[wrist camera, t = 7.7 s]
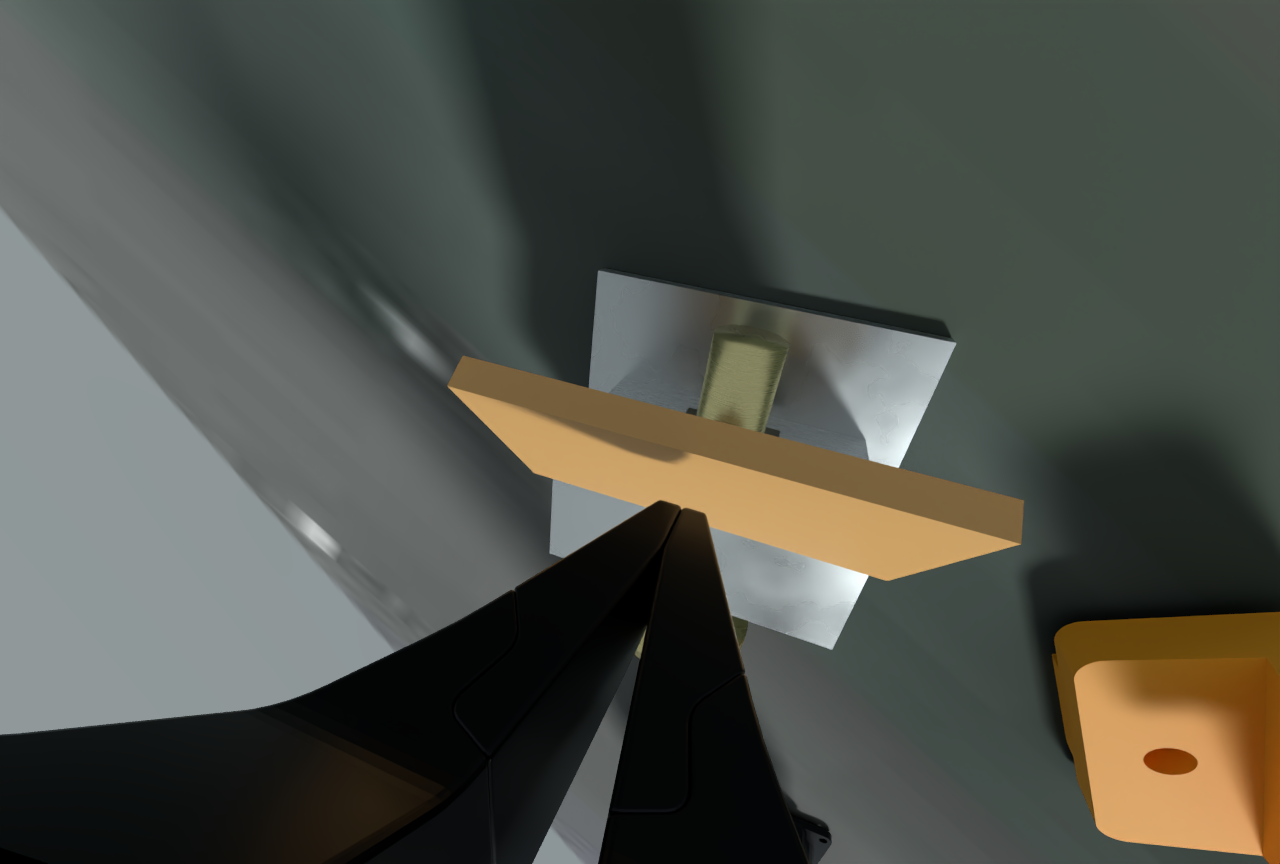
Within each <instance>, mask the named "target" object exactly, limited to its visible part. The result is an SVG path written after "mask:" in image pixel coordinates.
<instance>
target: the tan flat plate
mask: <svg viewBox="0 0 1280 864" xmlns="http://www.w3.org/2000/svg"><path fill="white" fill-rule="evenodd" d="M447 386H448V387H449V388H450V389H451V390H452V391H453V392H454V393H455V394H456V395H457V396H458V397H459V398H460V399H461V400H462V401H463V402H464V403H465V404H466V405H467V406H468V407H469V408H470V409H471V410H472V411H473V412H474V413H475V414H476V415H477V416H478V417H479V418H480V419H481V420H482V421H483V422H484V423H485V424H486V425H487V426H488V427H489V428H490V429H491V430H492V431H493V432H494V433H495V434H496V435H497V436H498V437H499V438H500V439H501V440H502V441H503V442H504V443H505V444H506V445H507V446H508V447H509V448H510V449H511V450H512V451H513V452H514V453H515V454H516V455H517V456H518V457H519V458H520V459H521V460H522V461H523V462H524V463H525V464H526V465H527V466H528V467H529V468H530V469H531V470H532V471H533V472H534V473H535V474H539V475H542V476H545V477H548V478H552V479H555V480H558V481H562V482H565V483H568V484H571V485H575V486H578V487H581V488H584V489H588V490H591V491H594V492H598V493H601V494H604V495H607V496H611V497H614V498H617V499H620V500H624V501H627V502H630V503H634V504H637V505H640V506H643V507H648V506H650V505H651V504H653V503H655V502H656V501H659V500H663V501H667V502H670V503H673V504H677V505H679V506H680V507H681V509H683V508H690V509H693V510H697V511H700V512H703V513H705V514H706V516H707V519H708V524H709V527H712V528H715V529H719V530H722V531H725V532H729V533H732V534H735V535H738V536H742V537H745V538H748V539H751V540H755V541H758V542H761V543H765V544H768V545H771V546H774V547H778V548H781V549H784V550H787V551H791V552H794V553H797V554H801V555H804V556H807V557H810V558H814V559H817V560H820V561H823V562H827V563H830V564H833V565H837V566H840V567H843V568H846V569H850V570H853V571H856V572H859V573H863V574H866V575H869V576H873V577H876V578H879V579H882V580H886V581H889V580H893V579H896V578H900V577H904V576H907V575H911V574H914V573H918V572H922V571H925V570H929V569H933V568H936V567H940V566H944V565H947V564H951V563H954V562H958V561H962V560H965V559H969V558H973V557H976V556H980V555H983V554H987V553H991V552H994V551H998V550H1002V549H1005V548H1009V547H1013V546H1016V545H1020V544H1021V540H1022V524H1023V508H1024V500H1020V499H1017V498H1013V497H1009V496H1005V495H1001V494H997V493H993V492H989V491H986V490H982V489H978V488H974V487H970V486H966V485H962V484H958V483H955V482H951V481H947V480H943V479H939V478H935V477H931V476H928V475H924V474H920V473H916V472H912V471H908V470H904V469H900V468H897V467H893V466H889V465H885V464H881V463H877V462H873V461H869V460H866V459H862V458H858V457H854V456H850V455H846V454H842V453H838V452H835V451H831V450H827V449H823V448H819V447H815V446H811V445H807V444H804V443H800V442H796V441H792V440H788V439H784V438H780V437H776V436H773V435H769V434H765V433H761V432H757V431H753V430H749V429H746V428H742V427H738V426H734V425H730V424H726V423H722V422H718V421H715V420H711V419H707V418H703V417H699V416H695V415H691V414H687V413H684V412H680V411H676V410H672V409H668V408H664V407H660V406H656V405H653V404H649V403H645V402H641V401H637V400H633V399H629V398H625V397H622V396H618V395H614V394H610V393H606V392H602V391H598V390H595V389H591V388H587V387H583V386H579V385H575V384H571V383H567V382H564V381H560V380H556V379H552V378H548V377H544V376H540V375H536V374H533V373H529V372H525V371H521V370H517V369H513V368H509V367H505V366H502V365H498V364H494V363H490V362H486V361H482V360H478V359H474V358H471V357H467V356H462V358H461V360H460V362H459V364H458V366H457V368H456V370H455V372H454V374H453V375H452V377H451V379H450V381H449V383H448V385H447Z"/></svg>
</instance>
